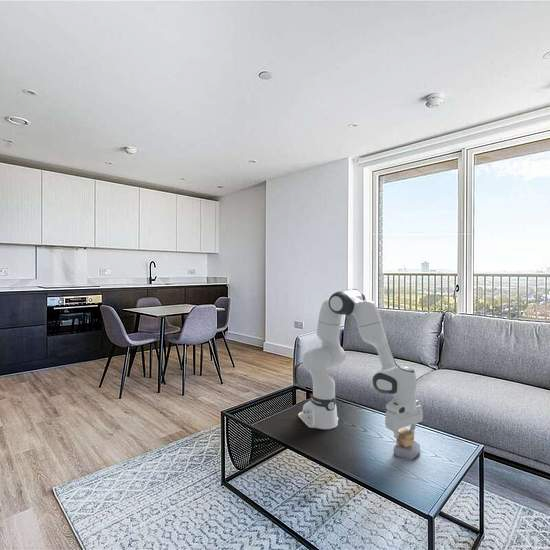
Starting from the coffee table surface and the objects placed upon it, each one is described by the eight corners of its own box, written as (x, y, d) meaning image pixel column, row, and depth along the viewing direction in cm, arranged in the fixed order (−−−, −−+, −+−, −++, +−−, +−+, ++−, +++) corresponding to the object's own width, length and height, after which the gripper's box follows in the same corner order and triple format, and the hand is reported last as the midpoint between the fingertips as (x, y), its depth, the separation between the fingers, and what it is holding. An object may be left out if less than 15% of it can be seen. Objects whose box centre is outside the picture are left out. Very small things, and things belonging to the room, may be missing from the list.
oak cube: (396, 441, 151) (396, 430, 151) (403, 438, 154) (404, 427, 153) (405, 447, 147) (406, 436, 146) (413, 444, 150) (414, 433, 149)
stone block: (420, 453, 153) (396, 442, 158) (422, 443, 153) (399, 433, 157) (415, 467, 143) (391, 456, 148) (418, 457, 142) (393, 446, 147)
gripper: (414, 397, 158) (414, 426, 159) (382, 405, 148) (382, 437, 148) (427, 401, 153) (426, 432, 153) (394, 411, 142) (394, 444, 143)
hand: (404, 435), depth 151 cm, fingers open, 8 cm apart
